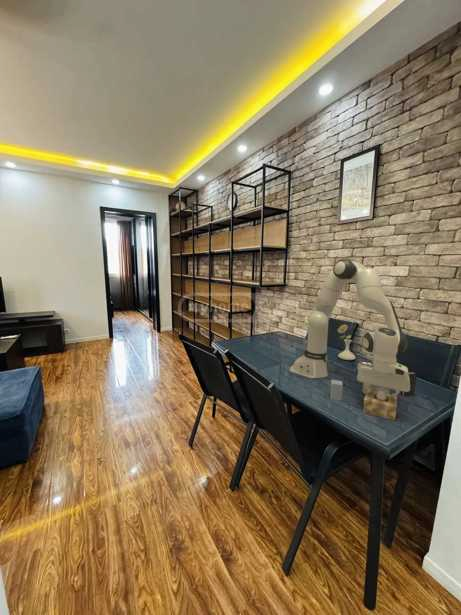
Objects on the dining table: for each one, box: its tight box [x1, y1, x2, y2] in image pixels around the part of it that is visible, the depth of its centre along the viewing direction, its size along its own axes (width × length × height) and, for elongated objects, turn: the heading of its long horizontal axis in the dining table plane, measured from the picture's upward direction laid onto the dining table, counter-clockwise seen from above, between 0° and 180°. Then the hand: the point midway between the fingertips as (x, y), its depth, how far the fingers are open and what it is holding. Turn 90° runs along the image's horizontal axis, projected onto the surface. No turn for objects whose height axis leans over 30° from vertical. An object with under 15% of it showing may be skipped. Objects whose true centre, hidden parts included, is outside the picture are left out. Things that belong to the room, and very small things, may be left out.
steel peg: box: [376, 387, 387, 401], centre depth 115 cm, size 4×4×10 cm
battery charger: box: [399, 371, 418, 397], centre depth 130 cm, size 7×4×11 cm, turn 105°
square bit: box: [329, 379, 344, 402], centre depth 126 cm, size 5×5×8 cm
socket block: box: [362, 390, 398, 421], centre depth 115 cm, size 12×12×6 cm
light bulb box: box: [362, 382, 391, 395], centre depth 129 cm, size 11×7×11 cm, turn 92°
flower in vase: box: [336, 324, 356, 361], centre depth 181 cm, size 13×11×25 cm
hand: (381, 395), depth 114 cm, fingers open, 8 cm apart
